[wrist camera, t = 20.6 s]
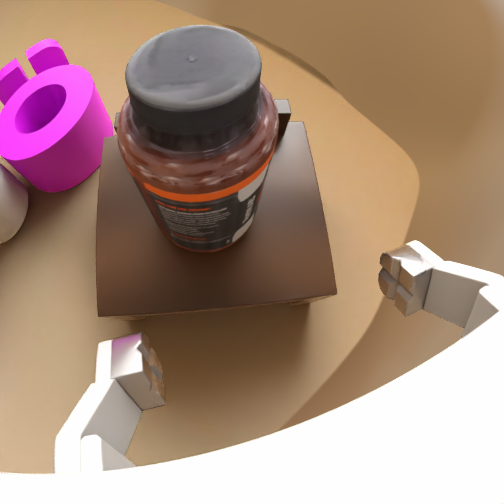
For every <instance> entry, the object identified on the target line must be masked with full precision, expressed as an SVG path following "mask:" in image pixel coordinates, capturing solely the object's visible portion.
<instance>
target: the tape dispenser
mask: <svg viewBox="0 0 504 504" xmlns="http://www.w3.org/2000/svg"><path fill="white" fill-rule="evenodd" d="M25 52H26V55H27V58H28V60H29V62H30V63H31V65H32V67H33V69H34V70H35V72H36V74H37V75H36V76H34V77H33V78H31V79H30V80H29V79H28V77H27V76H26V74H25V72H24V71H23V69H22V68H21V66H20V64H19V63H18V61H17V59H16V58H15V59H14V60H13V61H11V62H10V63H9V64H7V65H6V66H5V67H4V68H2V69H1V71H0V100H1V102H2V103H3V104H4V105H5V106H4V108H3V109H2V111H1V113H0V155H1V156H2V157H3V158H4V159H5V160H6V161H7V162H8V163H9V164H11V165H12V166H13V167H14V168H15V169H16V170H17V171H18V172H19V173H20V174H21V175H22V176H24V177H25V178H26V179H27V180H28V181H29V182H30V183H31V184H33V185H34V186H35V187H36V188H38V189H39V190H42V191H45V192H60V191H64V190H67V189H70V188H72V187H74V186H76V185H78V184H80V183H81V182H83V181H84V180H85V179H87V178H88V177H89V176H90V175H91V174H92V173H93V172H94V171H95V170H96V169H97V168H98V167H99V165H100V164H101V157H102V148H103V141H104V138H105V137H111V136H113V127H112V123H111V120H110V118H109V116H108V114H107V111H106V109H105V107H104V105H103V103H102V100H101V98H100V96H99V94H98V91H97V89H96V87H95V84H94V82H93V80H92V77H91V75H90V74H89V72H88V71H87V70H85V69H84V68H82V67H80V66H76V65H69V63H68V60H67V58H66V56H65V54H64V52H63V50H62V48H61V47H60V45H59V43H58V42H57V41H55V40H52V39H46V40H43V41H40V42H38V43H37V44H35V45H34V46H32V47H31V48H29V49H28V50H27V51H25Z"/></svg>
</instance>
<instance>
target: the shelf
mask: <svg viewBox="0 0 504 504" xmlns="http://www.w3.org/2000/svg"><path fill="white" fill-rule="evenodd" d="M274 101H275V103H276V106H277V109H278V117H279V118H278V119H279V129H278V137H277V141H276V144H275V148H274V152H273V156H272V160H271V162H270V166H269V169H268V172H267V176H266V179H265V182H264V186H263V189H262V193H261V196H260V200H259V204H258V208H257V211H256V214H255V217H254V219H253V221H252V223H251V225H250V227H249V229H248V230H247V232H246V233H245V234H244V235H243V236H242V237H241V238H240V239H239V240H238V241H237V242H235V243H234V244H232V245H231V246H229V247H227V248H225V249H222V250H219V251H215V252H204V253H202V252H193V251H189V250H186V249H183V248H181V247H179V246H177V245H175V244H174V243H173V242H172V241H171V240H169V239H168V238H167V237H166V235H165V234H164V233H163V232H162V230H161V229H160V228H159V226H158V224H157V223H156V221H155V219H154V217H153V216H152V214H151V212H150V210H149V208H148V207H147V205H146V203H145V201H144V199H143V197H142V195H141V193H140V191H139V190H138V188H137V186H136V184H135V182H134V180H133V178H132V176H131V175H130V173H129V170H128V168H127V166H126V164H125V162H124V160H123V158H122V155H121V153H120V149H119V145H118V140H117V136H111V137H105V138H104V141H103V148H102V157H101V166H100V177H99V189H98V205H97V227H96V286H97V308H98V317H103V318H111V319H120V320H141V319H146V315H160V314H174V313H186V312H198V311H209V310H220V309H230V308H240V307H249V306H258V305H267V304H275V303H284V302H290V305H297V304H305V303H311V302H314V301H317V300H321V299H324V298H327V297H330V296H333V295H336V294H337V288H336V282H335V275H334V269H333V263H332V256H331V251H330V245H329V239H328V233H327V228H326V223H325V217H324V212H323V207H322V202H321V197H320V192H319V187H318V182H317V178H316V173H315V168H314V164H313V159H312V155H311V151H310V146H309V142H308V138H307V134H306V130H305V126H304V122H290V121H289V119H290V116H291V110H290V105H289V101H288V100H284V99H274ZM119 114H120V113H116V118H115V125H114V128H115V130H116V133H117V123H118V118H119Z"/></svg>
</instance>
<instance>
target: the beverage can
mask: <svg viewBox="0 0 504 504" xmlns="http://www.w3.org/2000/svg"><path fill="white" fill-rule="evenodd" d="M27 209H28V193H27V190H26V188H25V186H24V185H23V183H22V182H20V181H19V180H18V179H17V178H16V177H15V176H14V175H13V174H11V173H10V172H9V171H8V170H7V169H6V168H5V167H4V166H3V165H2V164H0V244H1V243H4V242H6V241H8V240H9V239H11V238H12V237H13V236H14V235H15V234H16V233H17V231H18V230H19V229H20V227H21V225H22V223H23V221H24V219H25V216H26V213H27Z"/></svg>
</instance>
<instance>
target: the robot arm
mask: <svg viewBox="0 0 504 504" xmlns="http://www.w3.org/2000/svg"><path fill="white" fill-rule="evenodd" d="M380 264H381V266H382V267H383V268H382V269H381V271H380V273H379V278H378V282H379V286H380V289H381V291H382V293H383V294H384V295H385V296H386V297H387V298H389V299H392V300H394V306H395V307H396V308H397V309H398V310H399V311H400V312H401V313H402V314H403V315H404V316H405V317H406V316H408V315H410V314H413V313H415V312H417V311H419V310H421V309H423V310H425V311H427V312H429V313H432V314H434V315H436V316H438V317H440V318H443V319H445V320H447V321H450V322H452V323H454V324H456V325H458V326H460V327H463V328H465V329H464V332H463V334H462V336H461V339H460V340H459V341H458V342H456V343H455V344H453V345H452V346H450V347H449V348H447V349H445V350H444V351H442V352H441V353H439V354H438V355H436V356H434V357H433V358H431V359H430V360H428V361H426V362H425V363H423V364H421V365H420V366H418V367H416V368H415V369H413V370H411V371H409V372H407V373H406V374H404V375H402V376H400V377H399V378H397V379H395V380H393V381H391V382H389V383H387V384H386V385H384V386H382V387H380V388H378V389H376V390H374V391H372V392H370V393H368V394H366V395H364V396H362V397H360V398H358V399H355V400H353V401H351V402H349V403H347V404H345V405H343V406H340V407H338V408H336V409H334V410H331V411H329V412H327V413H324V414H322V415H320V416H317V417H315V418H313V419H310V420H307V421H305V422H303V423H300V424H297V425H294V426H292V427H289V428H286V429H284V430H281V431H278V432H275V433H272V434H269V435H266V436H263V437H260V438H257V439H254V440H251V441H248V442H244V443H241V444H238V445H234V446H231V447H227V448H224V449H220V450H216V451H212V452H208V453H204V454H200V455H196V456H192V457H187V458H183V459H178V460H173V461H168V462H163V463H157V464H151V465H145V466H139V467H138V466H136V465H135V464H134V463H132V462H131V461H130V460H128V459H127V458H126V457H125V454H126V452H127V449H128V447H129V444H130V442H131V440H132V437H133V435H134V432H135V430H136V427H137V425H138V423H139V420H140V418H141V415H142V413H143V412H142V411H144V410H148V409H152V408H156V407H160V406H164V405H167V403H166V396H165V388H164V386H163V385H162V383H161V382H160V381H161V379H162V377H163V374H162V368H161V364H160V361H159V358H158V356H157V354H156V352H155V350H154V349H152V348H150V347H149V340H148V338H147V336H146V335H145V333H144V332H139V333H135V334H131V335H127V336H123V337H119V338H115V339H112V340H108V341H104V342H100V343H99V345H98V348H97V360H96V374H95V383H92V384H91V385H90V386H89V388H88V389H87V390H86V392H85V393H84V395H83V396H82V398H81V399H80V401H79V402H78V404H77V405H76V407H75V408H74V410H73V411H72V413H71V414H70V416H69V418H68V419H67V421H66V422H65V424H64V425H63V427H62V428H61V430H60V431H59V433H58V435H57V436H56V438H55V454H54V474H26V473H6V472H0V504H504V277H502V276H501V275H499V274H496V273H492V272H488V271H485V270H481V269H477V268H474V267H470V266H466V265H462V264H459V263H454V262H451V261H446V262H445V261H444V260H442V259H441V258H440V257H438V256H437V255H436V254H434V253H433V252H432V251H431V250H429V249H428V248H427V247H425V246H424V245H423V244H421V243H420V242H419V241H412V242H410V243H407V244H405V245H403V246H400V247H398V248H395V249H393V250H390V251H387V252H385V253H382V255H381V257H380Z"/></svg>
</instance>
